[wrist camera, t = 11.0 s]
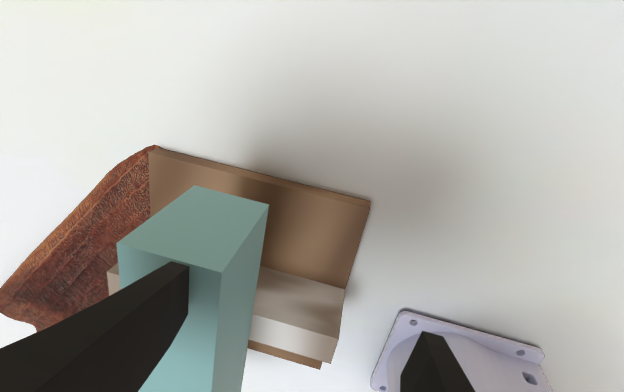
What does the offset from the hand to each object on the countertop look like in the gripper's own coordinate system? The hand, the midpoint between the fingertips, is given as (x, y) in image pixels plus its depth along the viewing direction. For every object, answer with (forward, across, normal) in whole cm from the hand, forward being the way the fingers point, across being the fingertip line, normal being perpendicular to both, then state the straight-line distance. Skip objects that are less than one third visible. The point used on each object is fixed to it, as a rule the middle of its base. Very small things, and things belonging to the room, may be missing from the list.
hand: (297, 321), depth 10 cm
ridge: (+10, +4, +7) cm, 13 cm away
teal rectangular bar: (+5, +4, +7) cm, 10 cm away
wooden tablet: (+11, +16, +12) cm, 23 cm away
